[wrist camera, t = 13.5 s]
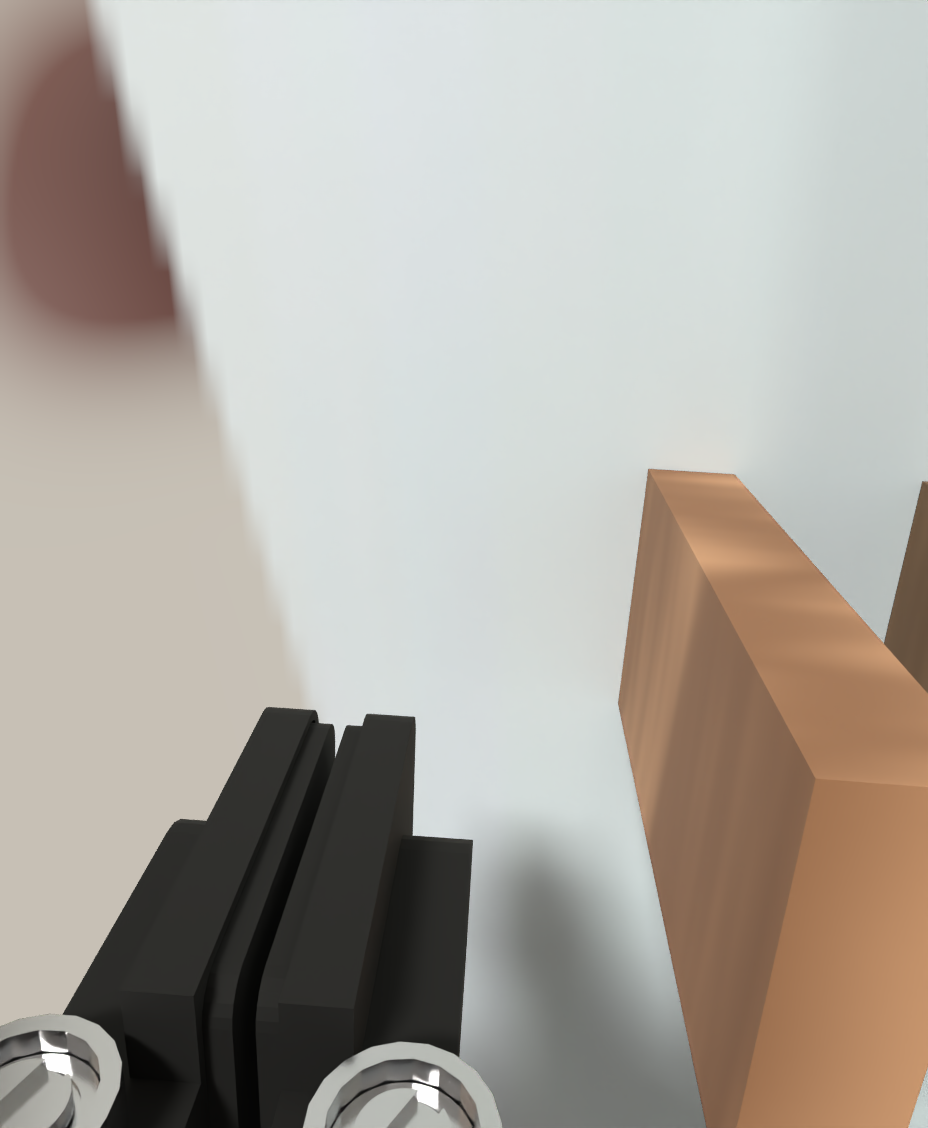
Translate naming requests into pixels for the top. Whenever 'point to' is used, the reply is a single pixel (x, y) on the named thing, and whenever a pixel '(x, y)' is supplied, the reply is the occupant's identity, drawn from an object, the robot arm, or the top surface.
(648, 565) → the domino
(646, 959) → the top surface
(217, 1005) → the robot arm
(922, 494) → the domino
